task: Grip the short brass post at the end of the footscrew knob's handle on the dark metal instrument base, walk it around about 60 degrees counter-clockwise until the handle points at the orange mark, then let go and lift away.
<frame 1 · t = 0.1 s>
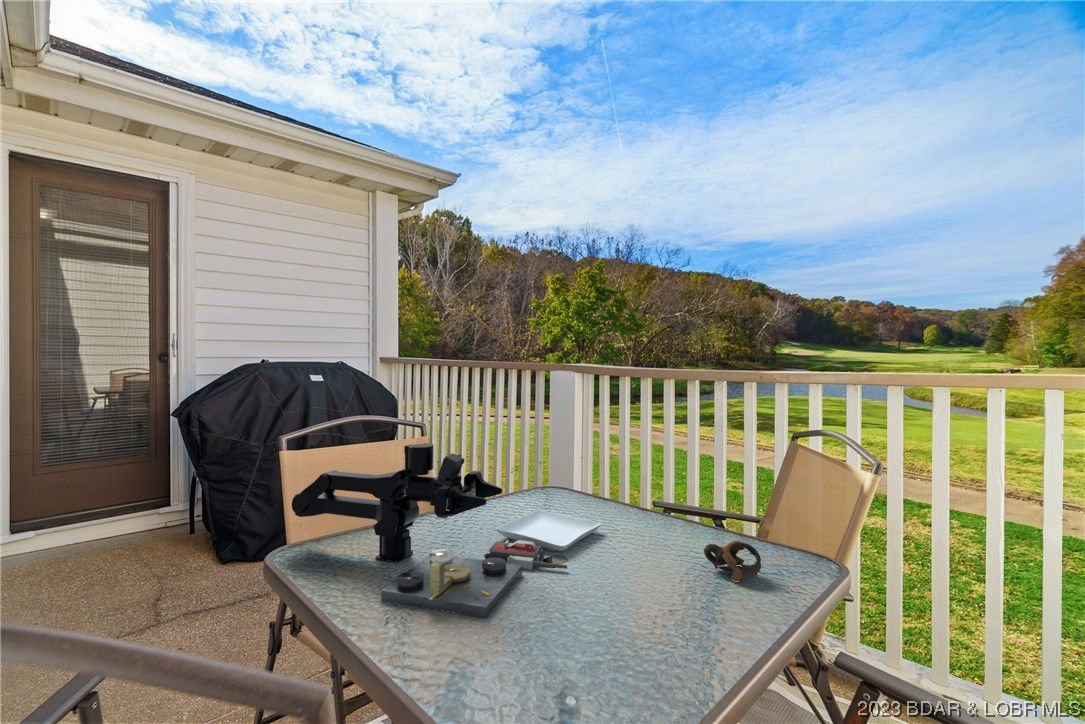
hand: (494, 496, 115), 17 cm above the table, tool horizontal, fingers open, 9 cm apart
salad plate: (549, 538, 138), on the table
brass knob: (449, 568, 104), point 5 cm above the table, hinge at 0.0°, touching instrument base
pottery mug: (731, 575, 115), on the table
instrument base: (455, 586, 107), on the table
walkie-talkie: (527, 563, 121), on the table
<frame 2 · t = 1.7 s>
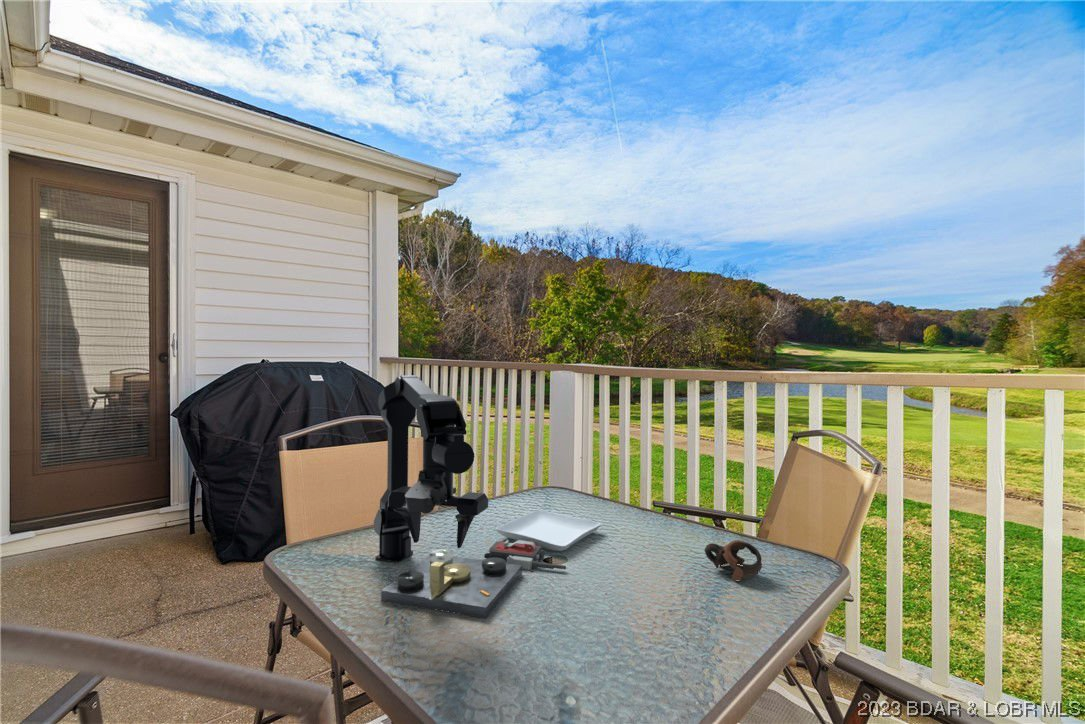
hand: (437, 544, 99), 11 cm above the table, tool pointing down, fingers open, 9 cm apart
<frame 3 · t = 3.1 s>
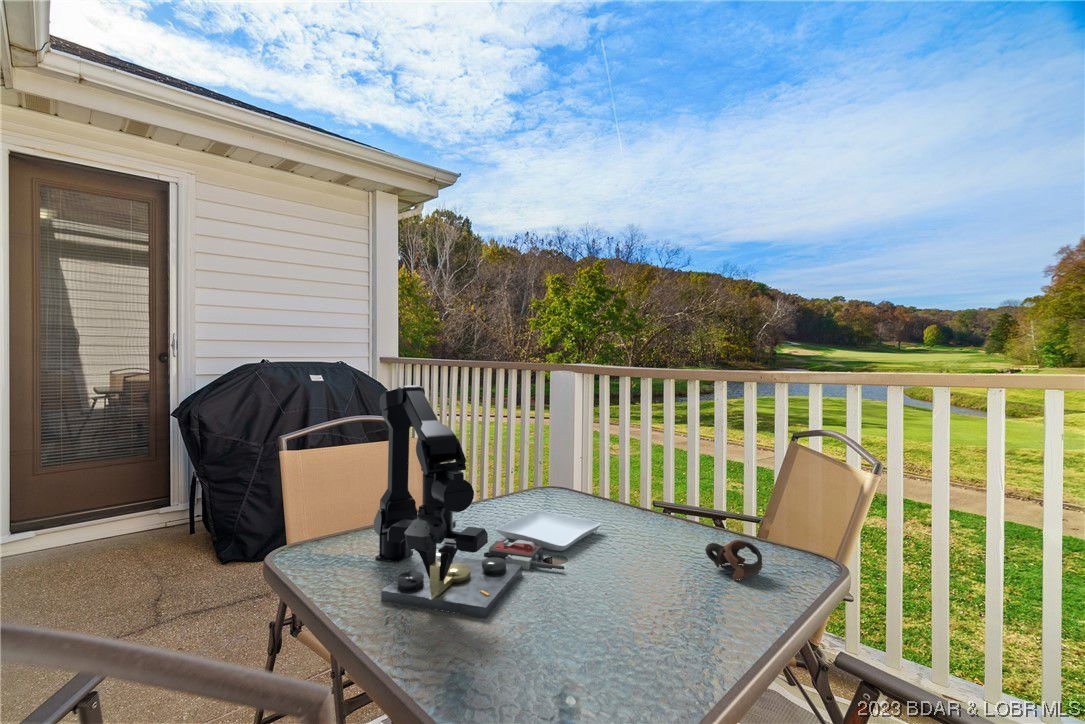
hand: (437, 579, 99), 5 cm above the table, tool pointing down, fingers closed on brass knob, 2 cm apart
brass knob: (449, 568, 104), point 5 cm above the table, hinge at 0.0°, touching gripper, instrument base
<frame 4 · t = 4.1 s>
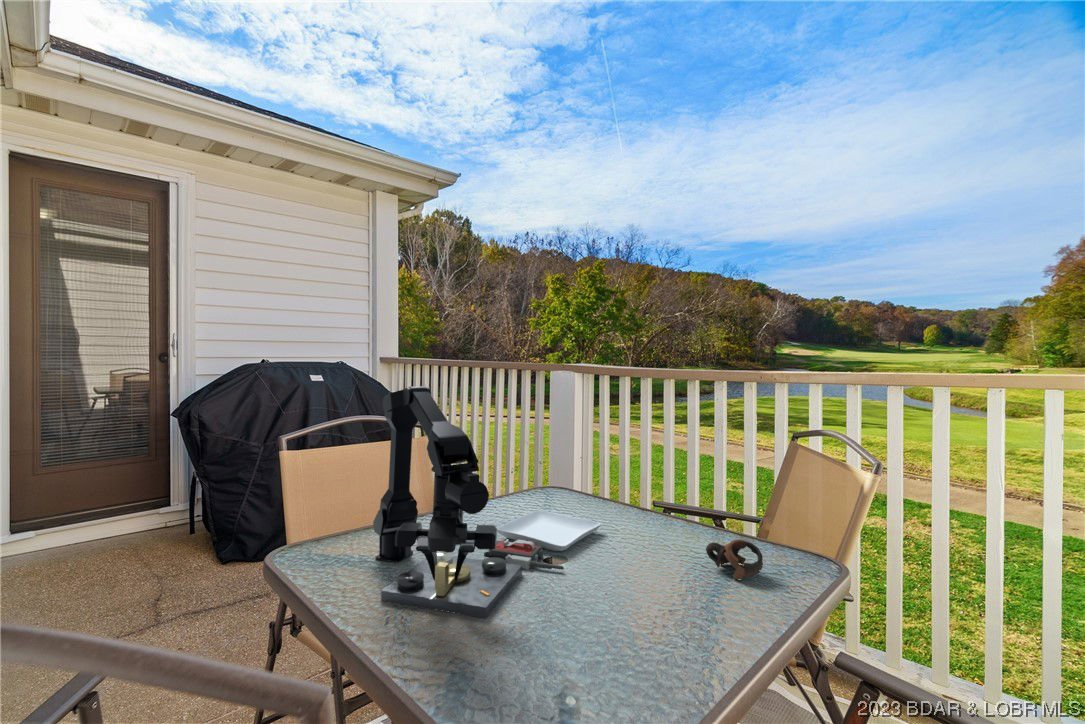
hand: (445, 579, 99), 5 cm above the table, tool pointing down, fingers open, 4 cm apart
brass knob: (450, 568, 104), point 5 cm above the table, hinge at 7.1°, touching gripper
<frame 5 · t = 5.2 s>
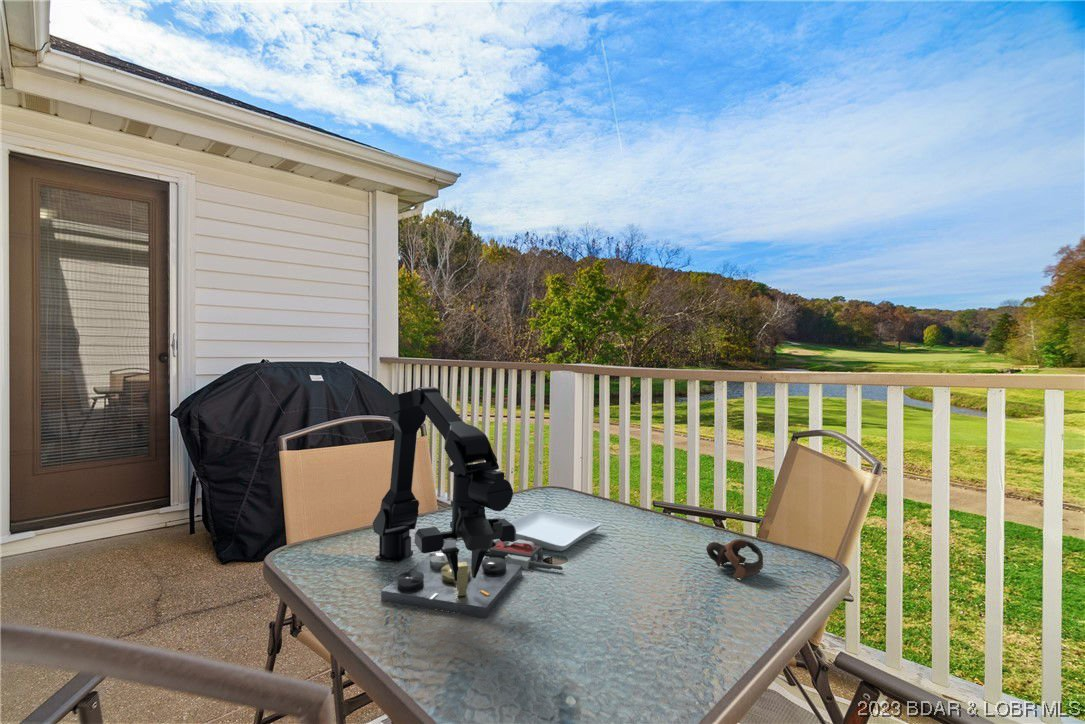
hand: (464, 579, 100), 5 cm above the table, tool pointing down, fingers open, 3 cm apart
brass knob: (457, 568, 104), point 5 cm above the table, hinge at 34.1°, touching gripper
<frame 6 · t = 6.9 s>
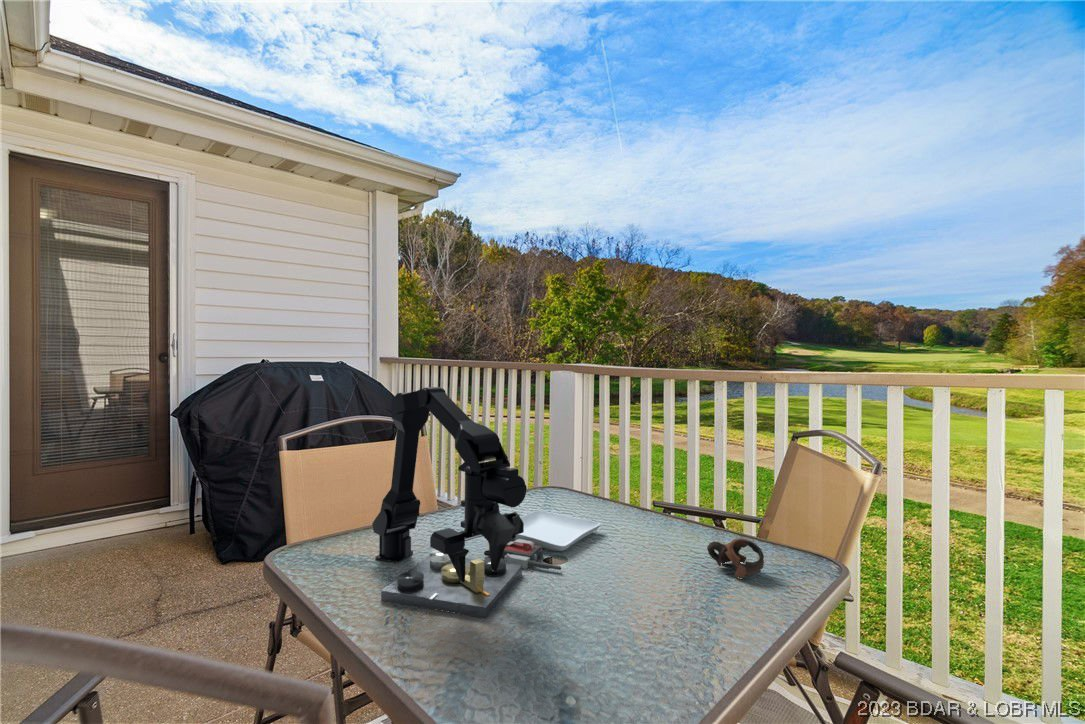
hand: (478, 576, 101), 5 cm above the table, tool pointing down, fingers open, 7 cm apart
brass knob: (463, 567, 105), point 5 cm above the table, hinge at 57.0°
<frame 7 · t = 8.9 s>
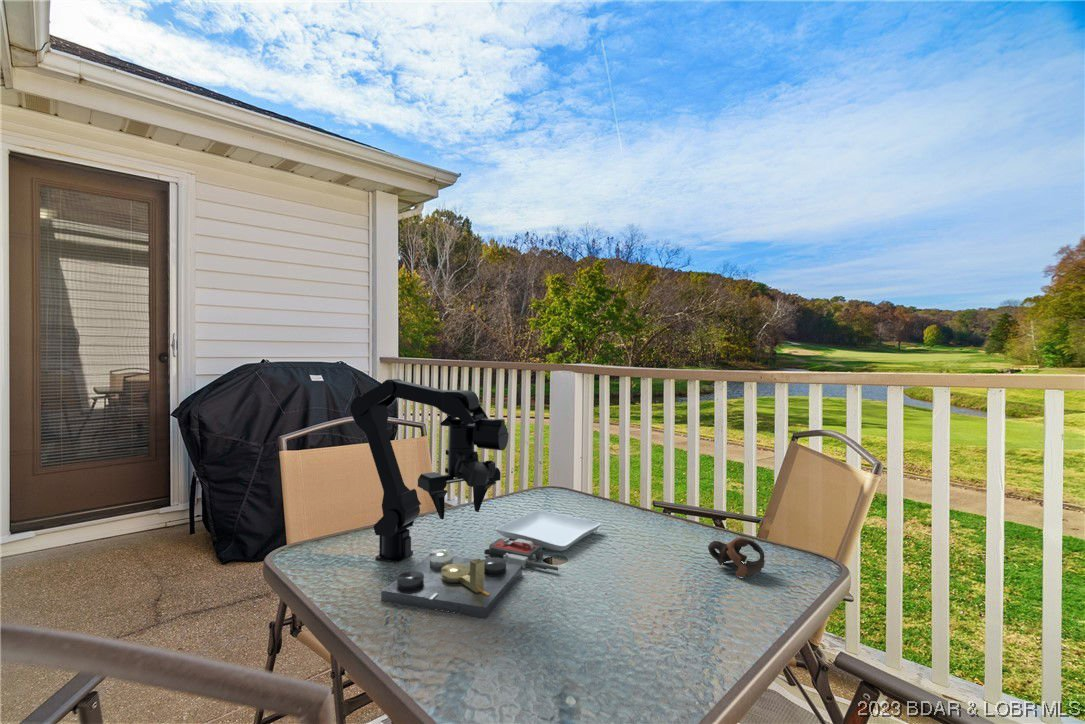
hand: (459, 515, 117), 12 cm above the table, tool pointing down, fingers open, 9 cm apart
brass knob: (463, 567, 105), point 5 cm above the table, hinge at 57.1°, touching instrument base
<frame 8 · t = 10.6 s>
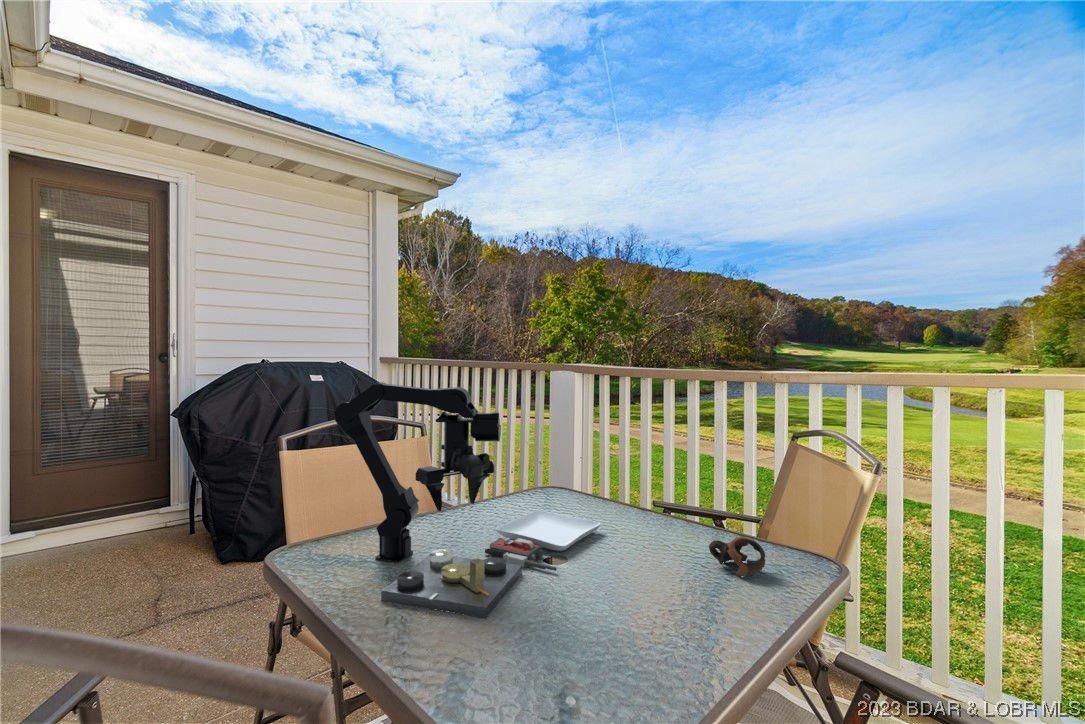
hand: (456, 507, 122), 12 cm above the table, tool pointing down, fingers open, 9 cm apart
at the end: brass knob at +57° (first picture: +0°); the gripper is holding nothing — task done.
